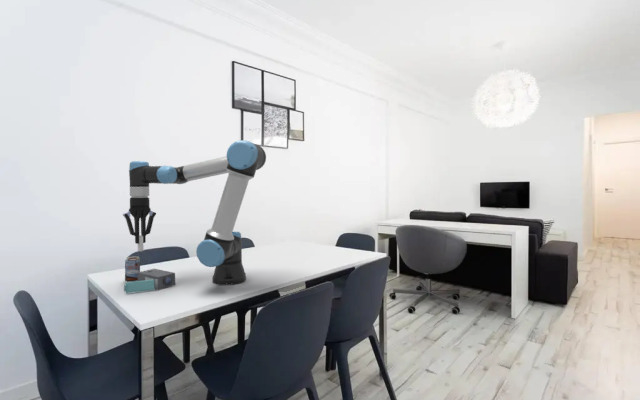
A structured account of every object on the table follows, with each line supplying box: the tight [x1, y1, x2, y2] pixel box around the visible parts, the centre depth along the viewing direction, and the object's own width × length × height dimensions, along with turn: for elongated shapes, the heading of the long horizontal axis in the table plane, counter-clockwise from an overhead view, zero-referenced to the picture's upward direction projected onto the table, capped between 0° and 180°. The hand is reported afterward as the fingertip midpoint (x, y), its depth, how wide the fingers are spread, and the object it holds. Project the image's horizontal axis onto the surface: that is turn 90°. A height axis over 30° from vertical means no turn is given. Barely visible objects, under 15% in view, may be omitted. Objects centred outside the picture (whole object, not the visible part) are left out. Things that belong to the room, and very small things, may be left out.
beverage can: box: [124, 256, 141, 282], centre depth 154 cm, size 6×7×12 cm
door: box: [123, 279, 158, 294], centre depth 138 cm, size 12×2×4 cm, turn 113°
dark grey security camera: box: [137, 268, 176, 291], centre depth 149 cm, size 17×8×6 cm, turn 58°
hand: (140, 250), depth 145 cm, fingers closed
